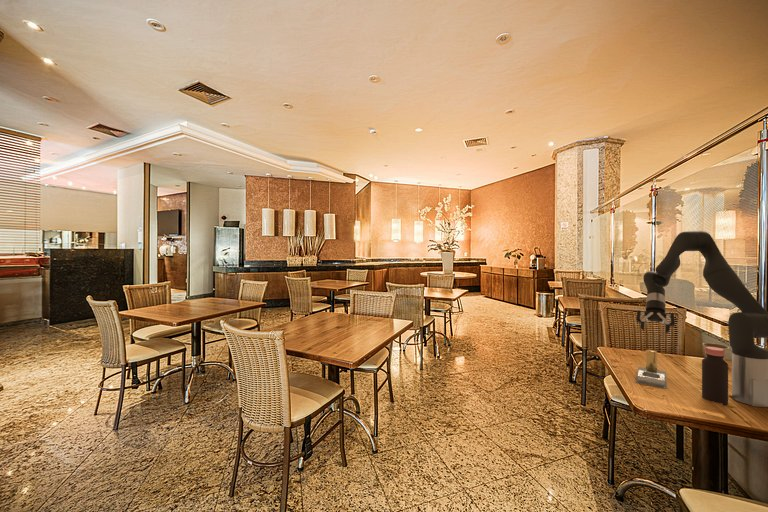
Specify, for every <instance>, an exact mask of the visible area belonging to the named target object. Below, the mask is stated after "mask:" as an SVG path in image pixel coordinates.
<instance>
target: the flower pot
mask: <svg viewBox="0 0 768 512" xmlns="http://www.w3.org/2000/svg"><path fill="white" fill-rule="evenodd" d="M702 346H703V349H704V350H705V347H717V348H721V349H724V357H723V360H724V361H725V362H726V359H727V355H728V352H729V349H730V346H727V345H724V344H720V343H714V342H713V343H712V342H711V343H710V342H703V343H702ZM704 354H705V357H707V355H706V353H704Z"/></svg>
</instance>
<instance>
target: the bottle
mask: <svg viewBox="0 0 768 512" xmlns="http://www.w3.org/2000/svg"><path fill="white" fill-rule="evenodd" d="M704 352H705V353H706V354H705V353H704V354H705V357H704V358H703V359H702V360H701V397H702V399H704V400H706V401H709V402H711V403H717V404H722V407H723V406H728V404H729V364H728V363H727V361H726V360H725V361H724V360H723V357H724V349H721V348H717V347H705V349H704ZM706 355H707V357H706Z"/></svg>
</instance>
